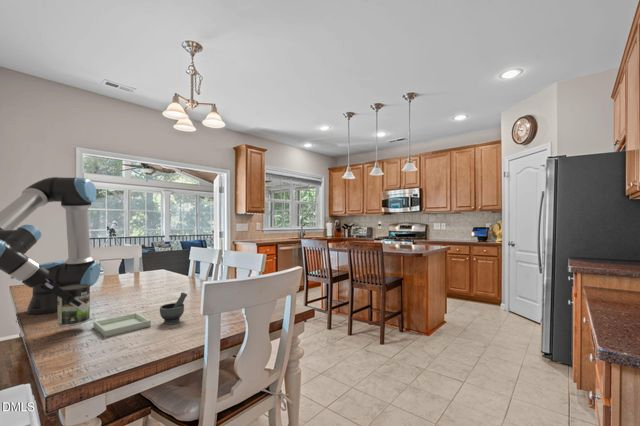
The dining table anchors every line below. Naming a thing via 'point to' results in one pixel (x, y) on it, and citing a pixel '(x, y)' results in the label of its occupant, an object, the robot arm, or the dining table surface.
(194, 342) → the dining table surface
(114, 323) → the tray
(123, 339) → the dining table surface
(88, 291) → the coffee can
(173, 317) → the mortar and pestle
